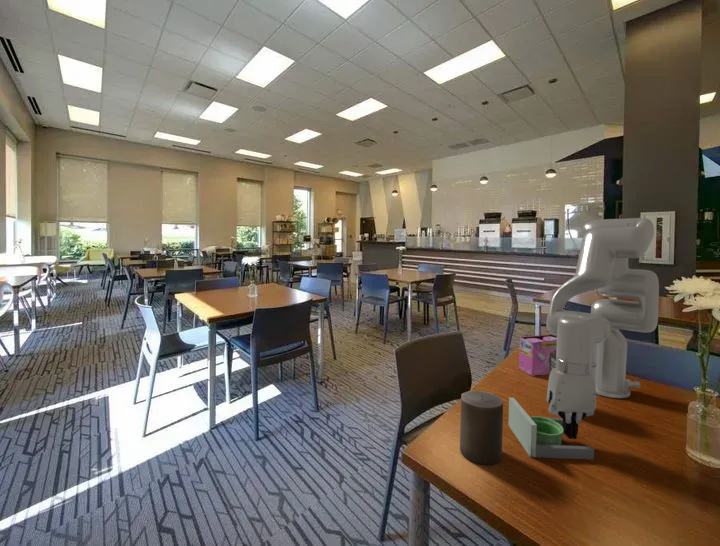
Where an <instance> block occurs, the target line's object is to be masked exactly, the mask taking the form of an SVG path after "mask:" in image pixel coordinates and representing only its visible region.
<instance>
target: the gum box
mask: <svg viewBox="0 0 720 546" xmlns="http://www.w3.org/2000/svg"><path fill="white" fill-rule="evenodd" d="M518 348H519V351H518V354H519V355H518V370H519V369H521V370H523V371H524V372H526V373H528V374H530V375H532V376H531V377H536V376H535V375H542V376H547V375H546V374H549V362H550V352H554V353H556V350H557V336H554V335H552V334H544V335H531V336H530V335H529V336H520V337H519V347H518ZM524 372H523V373H524ZM526 373H525V374H526ZM528 374H527V375H528ZM530 375H529V376H530Z"/></svg>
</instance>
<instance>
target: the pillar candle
mask: <svg viewBox="0 0 720 546" xmlns="http://www.w3.org/2000/svg"><path fill="white" fill-rule="evenodd" d="M460 397H461V398H460V424H459V425H460V426H459V429H460V430H459V432H460V433H459V451H460V453H461V455H462V456H463V457H465V458H466V459H467V460H469V462H472V463H474V464H478V465H483V466H492V465H497V464H499V463H500V462H501V460H502V459H503V457H502V456H503V426H504V423H503V422H504V421H503V420H504V400H503V399H502V397H500V396H498V395H497V394H494V393H492V392H488V391H482V390H470V391H466V392H463V393H461V396H460Z"/></svg>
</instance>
